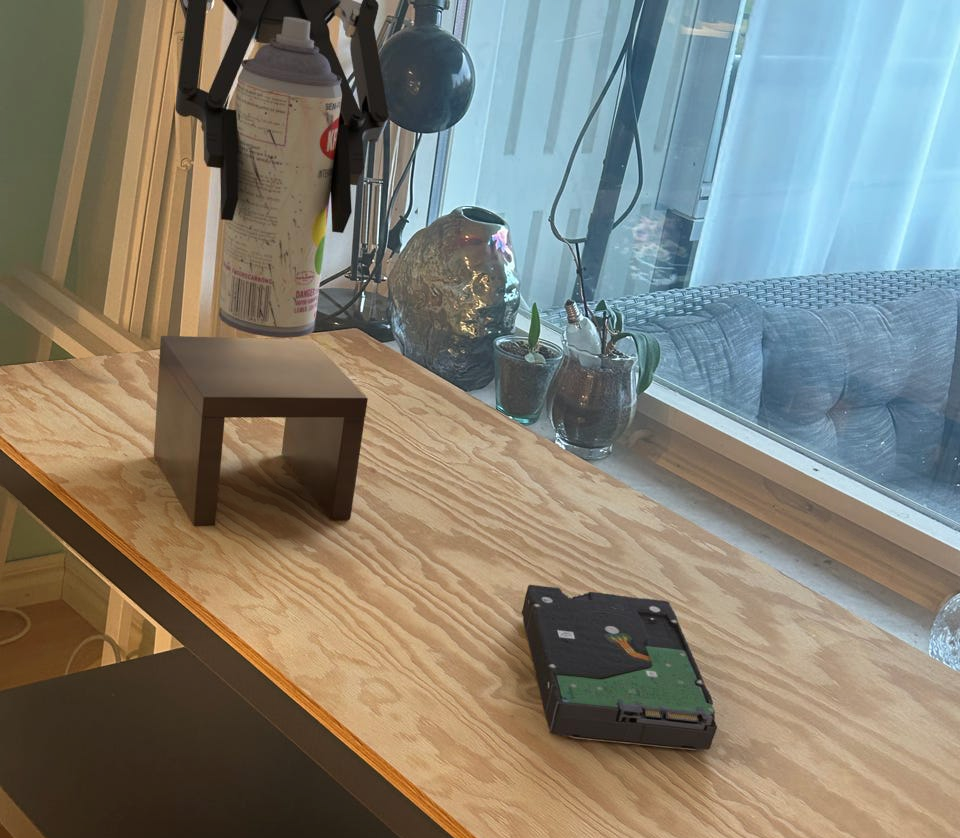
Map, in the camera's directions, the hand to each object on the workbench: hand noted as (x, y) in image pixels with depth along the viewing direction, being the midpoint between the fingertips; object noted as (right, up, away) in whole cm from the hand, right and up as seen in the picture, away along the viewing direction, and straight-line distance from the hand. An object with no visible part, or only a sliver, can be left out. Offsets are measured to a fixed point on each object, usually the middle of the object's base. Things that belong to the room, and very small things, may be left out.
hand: (286, 215), depth 88 cm
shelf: (-5, -17, +14) cm, 22 cm away
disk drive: (+21, -31, -2) cm, 38 cm away
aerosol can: (-2, -6, +7) cm, 9 cm away
